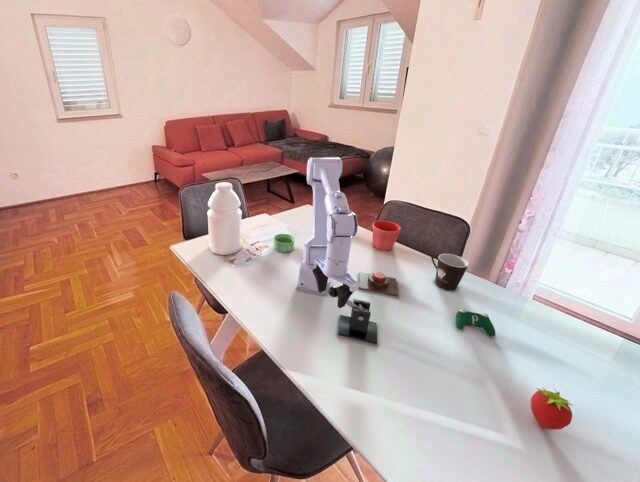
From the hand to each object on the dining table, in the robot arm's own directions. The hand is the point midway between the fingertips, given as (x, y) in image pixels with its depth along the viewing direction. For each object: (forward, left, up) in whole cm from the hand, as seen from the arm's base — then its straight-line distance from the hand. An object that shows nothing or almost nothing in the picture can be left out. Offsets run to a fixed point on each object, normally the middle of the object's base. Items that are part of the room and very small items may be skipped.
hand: (331, 298), depth 87 cm
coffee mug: (+36, +35, -9) cm, 51 cm away
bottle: (-46, +32, -9) cm, 57 cm away
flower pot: (+17, +56, -9) cm, 59 cm away
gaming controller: (+39, +13, -9) cm, 42 cm away
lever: (+3, 0, -1) cm, 4 cm away
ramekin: (-22, +40, -9) cm, 47 cm away
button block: (+14, +25, -9) cm, 30 cm away
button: (+14, +25, -7) cm, 30 cm away
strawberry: (+44, -15, -9) cm, 48 cm away
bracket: (+8, 0, -9) cm, 12 cm away
